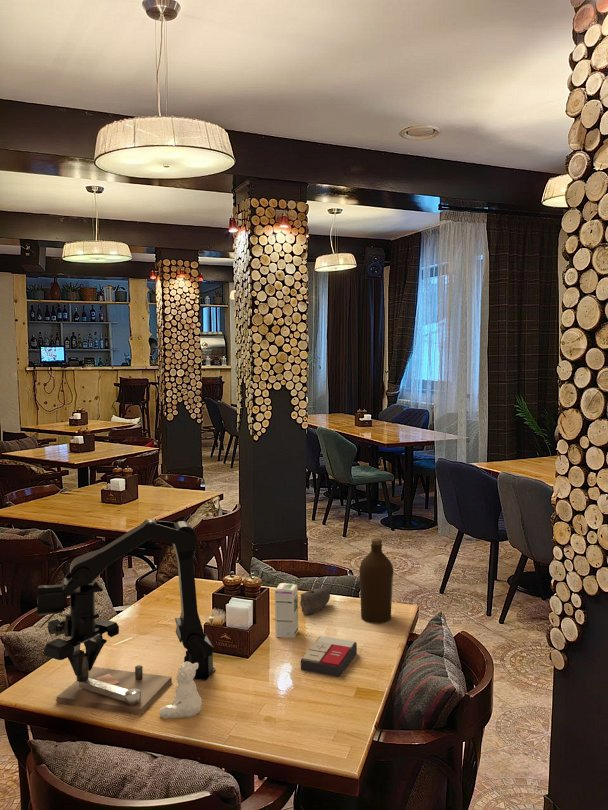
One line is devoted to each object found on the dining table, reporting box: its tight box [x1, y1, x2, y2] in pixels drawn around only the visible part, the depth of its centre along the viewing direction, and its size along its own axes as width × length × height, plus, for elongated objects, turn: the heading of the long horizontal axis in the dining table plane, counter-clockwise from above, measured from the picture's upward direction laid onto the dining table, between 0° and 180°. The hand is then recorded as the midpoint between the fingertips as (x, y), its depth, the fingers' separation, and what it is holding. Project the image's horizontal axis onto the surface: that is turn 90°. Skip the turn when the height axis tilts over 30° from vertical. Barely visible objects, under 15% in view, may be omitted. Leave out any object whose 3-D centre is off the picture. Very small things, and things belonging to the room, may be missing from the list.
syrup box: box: [274, 582, 299, 639], centre depth 197 cm, size 6×6×14 cm
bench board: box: [55, 664, 173, 716], centre depth 163 cm, size 22×16×4 cm
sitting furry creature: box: [158, 661, 203, 719], centre depth 154 cm, size 10×9×12 cm
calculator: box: [300, 635, 358, 678], centre depth 180 cm, size 11×4×15 cm
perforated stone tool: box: [299, 587, 331, 615], centre depth 217 cm, size 15×5×7 cm, turn 141°
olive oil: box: [358, 538, 394, 624], centre depth 210 cm, size 11×11×25 cm
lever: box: [76, 652, 141, 705], centre depth 158 cm, size 19×4×8 cm, turn 62°
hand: (83, 673), depth 162 cm, fingers open, 3 cm apart
